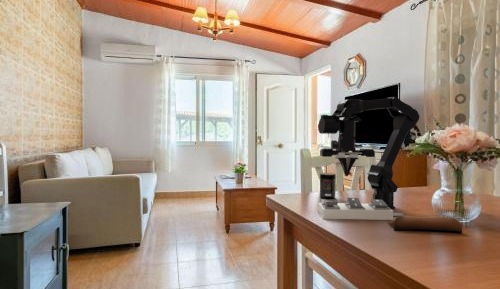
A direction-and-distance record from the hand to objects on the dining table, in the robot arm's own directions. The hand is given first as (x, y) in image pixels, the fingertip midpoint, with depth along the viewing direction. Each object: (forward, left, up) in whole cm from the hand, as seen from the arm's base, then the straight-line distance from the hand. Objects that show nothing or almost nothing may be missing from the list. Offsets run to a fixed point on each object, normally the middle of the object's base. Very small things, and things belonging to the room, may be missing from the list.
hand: (346, 176), depth 113 cm
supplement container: (+3, -20, -12) cm, 24 cm away
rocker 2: (-8, +11, -8) cm, 16 cm away
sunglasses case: (-16, +23, -13) cm, 31 cm away
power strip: (-2, +10, -12) cm, 16 cm away
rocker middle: (0, +11, -8) cm, 13 cm away
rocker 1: (+8, +11, -8) cm, 16 cm away
